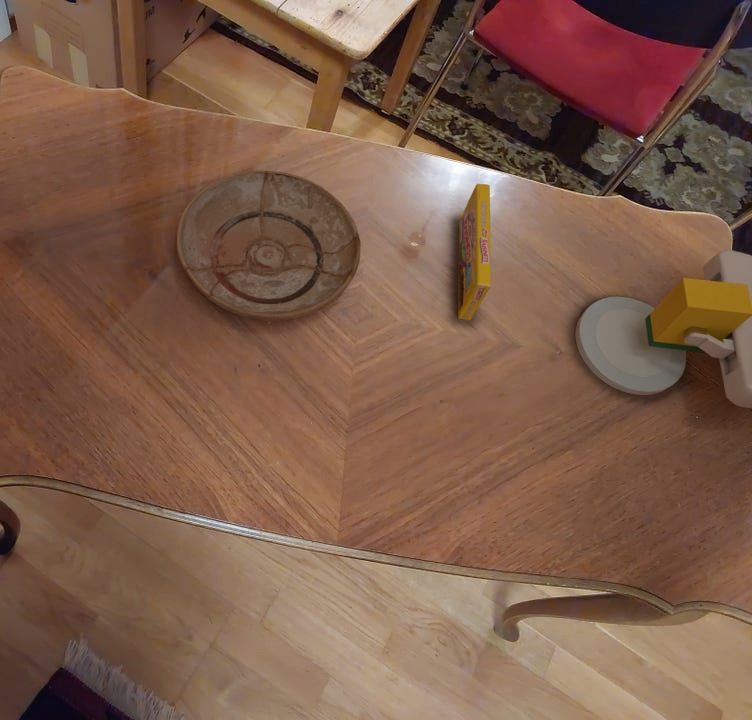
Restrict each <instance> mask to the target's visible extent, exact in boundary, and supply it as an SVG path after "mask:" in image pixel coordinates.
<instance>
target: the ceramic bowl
mask: <svg viewBox="0 0 752 720" xmlns="http://www.w3.org/2000/svg"><path fill="white" fill-rule="evenodd" d="M179 218H180V219H179V222H178V225H177V226H178V227H177V230H176V251H177V255H178V258H179V261H180V263H181V267H182V268H183V270H184V271H185V274H186V275H187V277H188V278H189V280H190V281H191V283H192V284H193V285H194V287H195V288H197V290H198V291H199V292H200V293H201V294H202V295H204V296H205V298H207V299H208V300H209V301H210V302H212V303H213V304H215V305H216V306H218V307H220V308H222V309H223V310H225V311H228V312H230V313H233V314H235V315H238V316H242V317H245V318H248V319H253V320H258V321H267V322H269V321H271V322H275V321H276V322H278V321H289V320H294V319H299V318H304V317H306V316H310V315H312V314H314V313H316V312H318V311H321V310H322V309H324V308H326V307H328V306H329V305H330V304H332V303H333V302H334V301H336V300H337V299H338V298H339V297H340V296H341V295H342V294H343V293H344V292H345V291H346V289H347V288H348V287H349V285H351V282H352V281H353V279H354V277H355V275H356V273H357V270H358V268H359V265H360V260H361V246H362V245H361V243H362V242H361V238H360V235H359V230H358V227H357V226H356V223H355V220H354V219H353V217H352V215H351V214H350V212H349V211H348V209H347V208H346V207H345V206H344V205H343V203H342V202H340V200H338V198H336V197H335V196H334V194H332V193H330V192H329V191H328V190H327V189H325V188H324V187H323V186H321V185H319V184H317V183H315V182H314V181H311V180H309V179H307V178H304V177H301V176H299V175H297V174H296V175H295V174H292V173H288V172H283V171H276V170H249V171H241V172H236V173H232V174H230V175H226V176H223V177H221V178H219V179H216V180H215V181H213V182H211V183H209V184H207V185H206V186H204V188H202V189H201V190H200V191H199V192H197V194H196V195H194V196H193V197H192V198H191V200H190V201H189V202H188V203H187V204H186V205H185V208H184V210H183V212H182V213H181V216H180V217H179Z"/></svg>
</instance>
